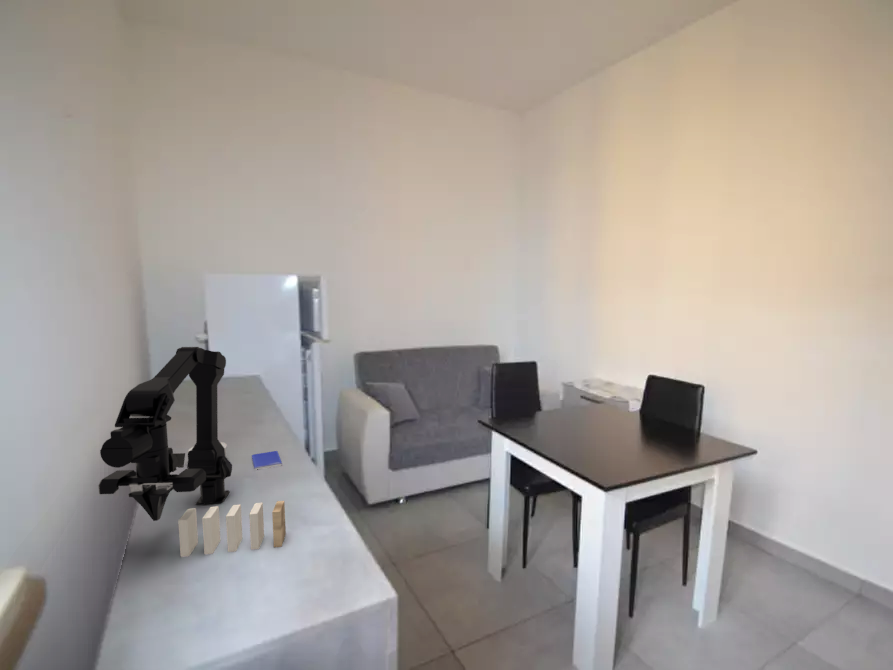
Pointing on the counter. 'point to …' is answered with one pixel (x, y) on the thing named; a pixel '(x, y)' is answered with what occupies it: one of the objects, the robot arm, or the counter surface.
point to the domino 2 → (211, 530)
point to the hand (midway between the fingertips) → (156, 519)
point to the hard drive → (266, 460)
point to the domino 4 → (256, 526)
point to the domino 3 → (234, 528)
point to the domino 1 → (188, 532)
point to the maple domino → (279, 523)
